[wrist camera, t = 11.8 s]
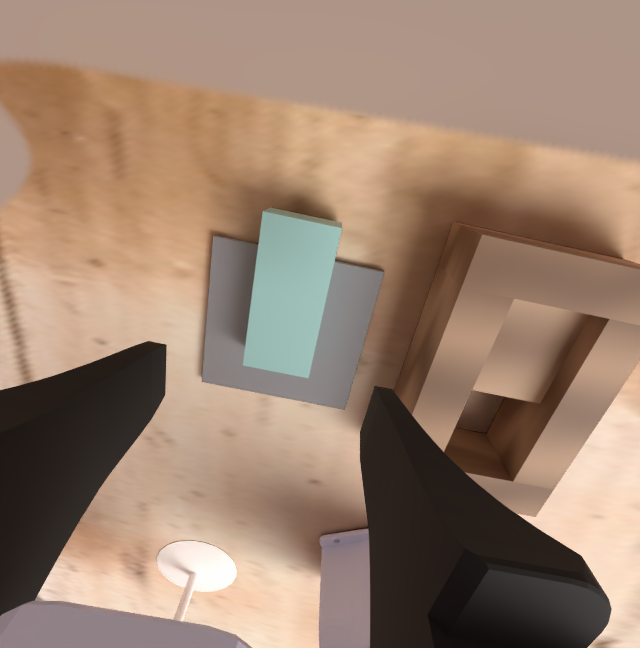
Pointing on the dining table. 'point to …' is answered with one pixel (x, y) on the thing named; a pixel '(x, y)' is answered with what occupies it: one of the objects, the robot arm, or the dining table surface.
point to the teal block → (289, 290)
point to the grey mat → (332, 343)
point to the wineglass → (195, 569)
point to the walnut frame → (521, 356)
